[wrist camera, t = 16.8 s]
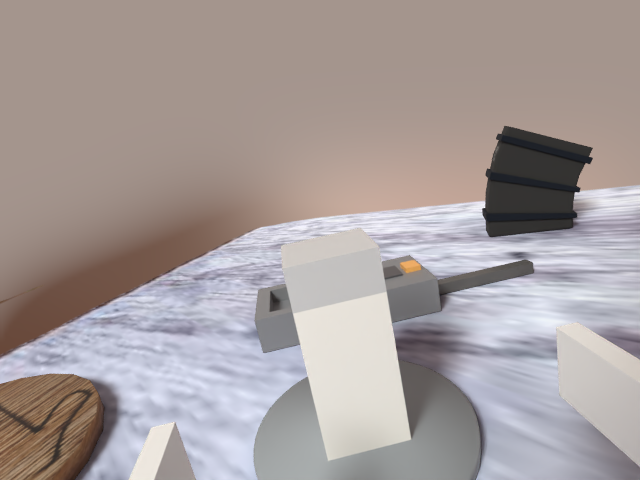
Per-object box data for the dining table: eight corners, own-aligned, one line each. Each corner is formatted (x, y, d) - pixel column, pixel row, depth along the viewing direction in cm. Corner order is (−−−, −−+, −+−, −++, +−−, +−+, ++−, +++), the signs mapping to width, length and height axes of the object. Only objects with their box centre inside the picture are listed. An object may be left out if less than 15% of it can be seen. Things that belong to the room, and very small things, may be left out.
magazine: (462, 223, 60) (501, 125, 54) (550, 249, 58) (599, 150, 52) (464, 230, 56) (506, 125, 51) (558, 258, 54) (612, 152, 49)
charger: (389, 392, 27) (360, 228, 24) (411, 439, 23) (379, 246, 20) (319, 409, 27) (280, 245, 24) (328, 461, 22) (282, 268, 19)
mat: (484, 377, 28) (483, 365, 28) (475, 590, 16) (473, 572, 16) (312, 363, 34) (309, 353, 34) (210, 509, 22) (205, 496, 22)
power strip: (509, 260, 47) (506, 229, 46) (555, 283, 39) (553, 246, 38) (265, 317, 45) (257, 285, 44) (263, 353, 37) (253, 316, 36)
